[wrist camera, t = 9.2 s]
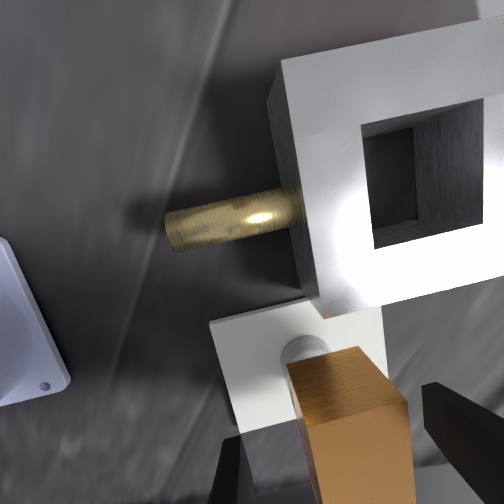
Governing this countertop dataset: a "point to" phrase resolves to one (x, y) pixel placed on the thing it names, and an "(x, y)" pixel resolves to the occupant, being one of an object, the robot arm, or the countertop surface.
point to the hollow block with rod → (354, 175)
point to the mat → (269, 351)
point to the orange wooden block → (349, 424)
